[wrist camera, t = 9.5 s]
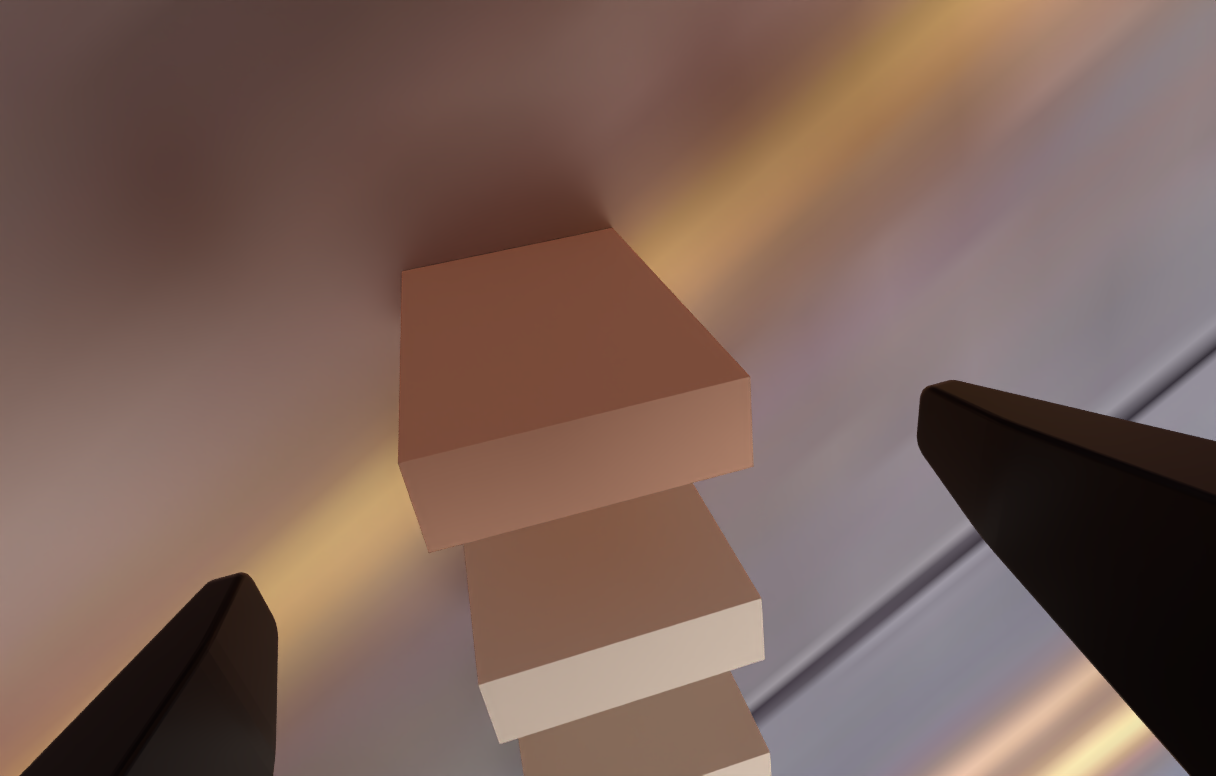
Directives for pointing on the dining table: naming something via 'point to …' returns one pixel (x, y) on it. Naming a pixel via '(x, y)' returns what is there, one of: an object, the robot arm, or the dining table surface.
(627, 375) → the domino
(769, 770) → the domino
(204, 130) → the dining table surface
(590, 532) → the domino
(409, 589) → the dining table surface
